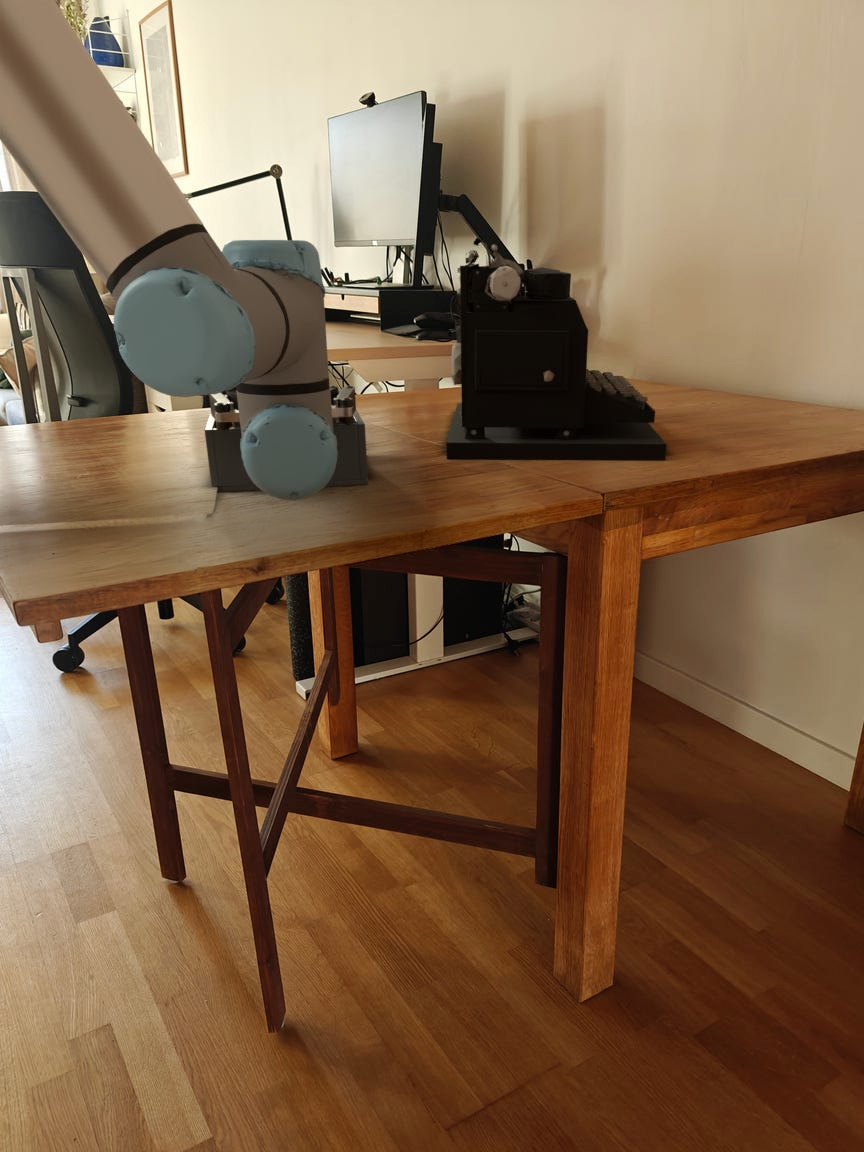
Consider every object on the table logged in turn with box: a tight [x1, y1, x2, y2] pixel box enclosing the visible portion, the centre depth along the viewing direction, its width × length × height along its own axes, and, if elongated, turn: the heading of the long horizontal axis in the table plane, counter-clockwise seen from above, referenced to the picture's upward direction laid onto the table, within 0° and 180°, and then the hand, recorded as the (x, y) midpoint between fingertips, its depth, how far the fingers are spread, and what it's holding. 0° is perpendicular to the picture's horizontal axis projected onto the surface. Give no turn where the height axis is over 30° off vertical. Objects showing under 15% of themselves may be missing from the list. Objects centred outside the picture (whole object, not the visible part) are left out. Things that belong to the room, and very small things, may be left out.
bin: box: [204, 409, 369, 493], centre depth 99 cm, size 17×16×7 cm
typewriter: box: [445, 237, 668, 461], centre depth 116 cm, size 31×27×25 cm
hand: (282, 391), depth 101 cm, fingers closed on game die, 8 cm apart
